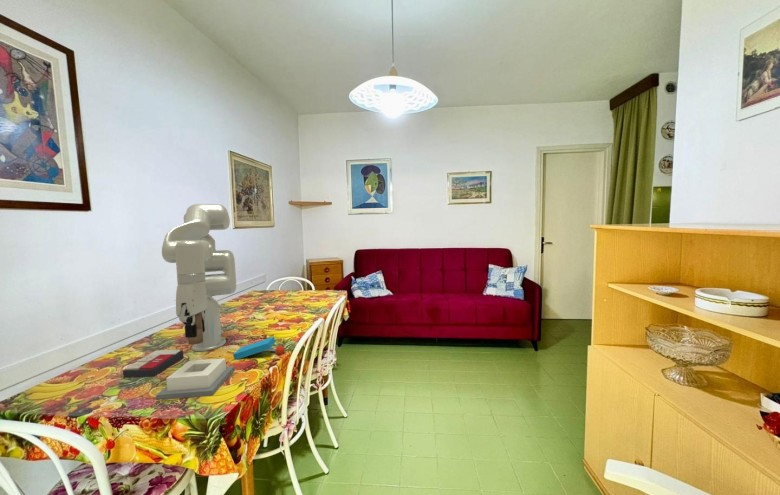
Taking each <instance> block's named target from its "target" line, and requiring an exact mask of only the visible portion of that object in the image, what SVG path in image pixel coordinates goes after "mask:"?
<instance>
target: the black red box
mask: <svg viewBox="0 0 780 495" xmlns="http://www.w3.org/2000/svg"><path fill="white" fill-rule="evenodd" d="M183 359H185V356H184V350H183V349H169V350H168V349H166V350H164V349H162V350H161V349H160V350H154V351H152V352H151V353H150V354H147V355H145V356H143V357H141V358H139V359H138V360H137V361H135V362H134V363H132V364H130V365H128V366H127V367H125V368H124V369H123V370H122V376H123V378H124V379H125V378H127V379H128V378H129V379H130V378H147V377H148V378H151V377H153V378H154V377H156V376H158V375H160V374H161V373H162V372H164V371H166V370H167V369H169V368H170V367H171V366H173V365H174V364H176V363H178V362H180V361H181V360H183Z"/></svg>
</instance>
